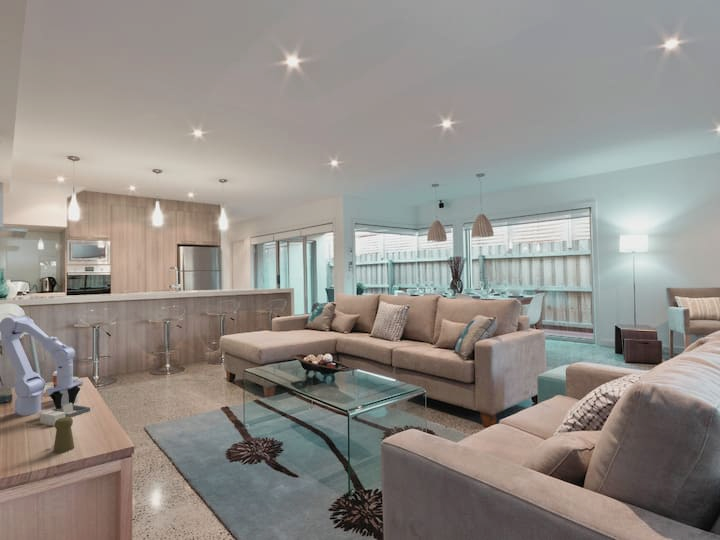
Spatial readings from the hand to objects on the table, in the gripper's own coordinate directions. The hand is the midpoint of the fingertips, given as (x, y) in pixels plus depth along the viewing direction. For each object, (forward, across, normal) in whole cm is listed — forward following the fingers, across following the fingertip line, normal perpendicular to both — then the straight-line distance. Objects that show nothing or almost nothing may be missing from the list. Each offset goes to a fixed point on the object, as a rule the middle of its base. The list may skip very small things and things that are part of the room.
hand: (65, 406), depth 174 cm
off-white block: (+2, -10, -10) cm, 15 cm away
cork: (+4, -23, -34) cm, 41 cm away
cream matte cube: (+3, 0, 0) cm, 3 cm away
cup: (+4, +11, +14) cm, 18 cm away
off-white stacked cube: (+2, -10, -6) cm, 12 cm away
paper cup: (+4, +15, +24) cm, 28 cm away
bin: (+4, 0, -2) cm, 5 cm away
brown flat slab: (+4, -10, -4) cm, 12 cm away
